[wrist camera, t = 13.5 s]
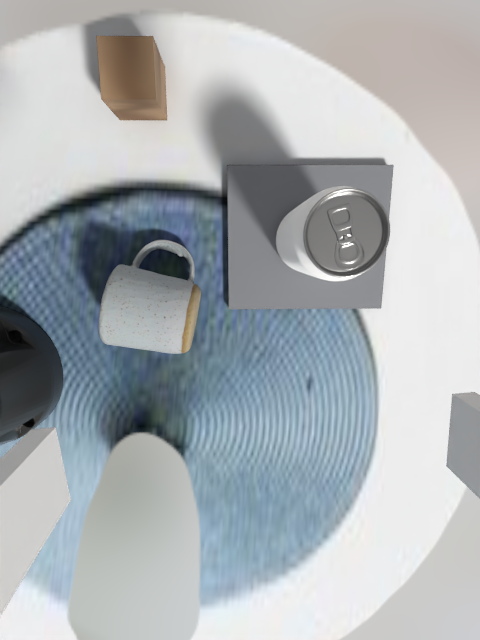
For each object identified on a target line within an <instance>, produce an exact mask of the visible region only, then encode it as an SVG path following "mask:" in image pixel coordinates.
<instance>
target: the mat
mask: <svg viewBox="0 0 480 640" xmlns="http://www.w3.org/2000/svg"><path fill="white" fill-rule="evenodd" d="M392 177H393V165H227V184H228V277H229V309H348V308H381V304H382V292H383V281H384V269H385V258H386V250H385V252H384V254H383V255H382V257H381V258H380V260H379V261H378V262H377V263H376V264H375V265H374V266H373V267H372V268H370V269H369V270H368V271H366V272H364V273H362V274H361V275H359V276H357V277H355V278H352V279H349V280H345V281H327V280H322V279H319V278H316V277H313V276H310V275H307V274H304V273H301V272H299V271H296V270H294V269H292V268H290V267H289V266H288V265H286V264H285V263H284V261H283V260H282V259H281V257H280V255H279V253H278V251H277V247H276V234H277V230H278V227H279V225H280V223H281V221H282V220H283V219H284V217H285V216H286V215H287V214H288V213H289V212H291V211H292V210H293V209H295V208H296V207H297V206H299V205H300V204H302V203H303V202H305V201H306V200H307V199H309V198H310V197H312V196H313V195H315V194H317V193H318V192H320V191H322V190H325V189H328V188H332V187H337V186H347V187H353V188H356V189H360V190H363V191H366V192H368V193H370V194H371V195H373V196H374V197H375V198H377V199H378V200H379V201H380V203H381V204H382V205H383V207H384V209H385V210H386V213H387V215H388V219H389V211H390V200H391V188H392Z"/></svg>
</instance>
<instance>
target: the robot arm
mask: <svg viewBox="0 0 480 640" xmlns="http://www.w3.org/2000/svg"><path fill="white" fill-rule="evenodd" d="M62 388H63V369H62V364H61V360H60V357H59V355H58V352H57V350H56V348H55V346H54V345H53V343H52V341H51V340H50V338H49V337H48V336H47V335H46V333H45V332H44V331H43V330H42V329H41V328H40V327H39V326H38V325H37V324H35V323H34V322H33V321H32V320H30V319H29V318H27V317H26V316H24V315H22V314H20V313H18V312H16V311H14V310H11V309H9V308H5V307H2V306H0V445H2V444H5V443H7V442H10V441H13V440H16V439H18V438H20V437H22V436H24V435H25V436H24V437H23V438H22V439H21V440H20V441H19V442H18V443H16V444H15V445H14V446H13V447H12V448H11V449H10V450H9V451H8V452H7V453H6V454H5V455H4V456H3V457H2V458H1V459H0V616H1V615H2V613H3V611H4V610H5V608H6V606H7V605H8V603H9V601H10V600H11V598H12V597H13V595H14V593H15V592H16V590H17V588H18V587H19V585H20V583H21V582H22V580H23V578H24V577H25V575H26V573H27V572H28V570H29V569H30V567H31V565H32V564H33V562H34V560H35V559H36V557H37V555H38V554H39V552H40V550H41V549H42V547H43V545H44V544H45V542H46V540H47V539H48V537H49V536H50V534H51V532H52V531H53V529H54V527H55V526H56V524H57V522H58V521H59V519H60V517H61V516H62V514H63V512H64V511H65V509H66V508H67V506H68V504H69V503H70V501H71V499H70V494H69V489H68V484H67V479H66V475H65V470H64V465H63V460H62V455H61V450H60V446H59V441H58V436H57V431H56V427H53V428H42V429H34V428H36V427H37V426H38V425H39V424H40V423H41V422H42V421H44V420H45V419H46V418H47V417H48V416H49V415H50V414H51V412H52V411H53V410H54V408H55V407H56V405H57V403H58V401H59V399H60V396H61V392H62ZM446 466H447V467H448V468H449V469H450V470H451V471H452V472H453V473H454V474H455V475H456V476H457V477H458V478H459V479H460V480H461V481H462V482H463V483H464V484H465V485H466V486H467V487H468V488H469V489H470V490H472V492H474V493H475V494H476V495H477V496H478V497H479V498H480V395H478V394H477V393H475V392H471V393H459V394H452V404H451V416H450V428H449V441H448V453H447V465H446Z"/></svg>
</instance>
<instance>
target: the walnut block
mask: <svg viewBox="0 0 480 640" xmlns="http://www.w3.org/2000/svg"><path fill="white" fill-rule="evenodd" d="M96 38H97V50H98V63H99V76H100V88H101V99H102V100H103V101H104V103H105V104H106V105H107V106H108V107H109V108H110V109H111V111H112V112H113V113H114V114H115V115H116V116H117V117H118V118H119V120H167V107H166V84H165V66H164V64H163V61H162V58H161V56H160V53H159V51H158V48H157V45H156V43H155V40H154V38H153V36H96Z"/></svg>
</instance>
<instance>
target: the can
mask: <svg viewBox="0 0 480 640" xmlns="http://www.w3.org/2000/svg"><path fill="white" fill-rule="evenodd" d="M389 236H390V224H389V219H388V215H387V213H386V210H385V209H384V207H383V205H382V204H381V203H380V201H379V200H378V199H377V198H375V197H374V196H373V195H371V194H370V193H368V192H366V191H363V190H360V189H356V188H353V187H347V186H337V187H332V188H328V189H325V190H322V191H320V192H318V193H317V194H315V195H313V196H312V197H310V198H309V199H307V200H306V201H305V202H303V203H302V204H300V205H299V206H297V207H296V208H295V209H293V210H292V211H291V212H289V213H288V214H287V215H286V216H285V217H284V219H283V220H282V221H281V223H280V225H279V227H278V230H277V234H276V247H277V251H278V253H279V255H280V257H281V259H282V260H283V261H284V263H285V264H286V265H288V266H289V267H290V268H292V269H294V270H296V271H299V272H301V273H304V274H307V275H310V276H313V277H316V278H319V279H322V280H327V281H345V280H349V279H352V278H355V277H357V276H359V275H361V274H362V273H364V272H366V271H368V270H369V269H370V268H372V267H373V266H374V265H375V264H376V263H377V262H378V261H379V260H380V258H381V257H382V255H383V254H384V252H385V250H386V247H387V245H388V241H389Z"/></svg>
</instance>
